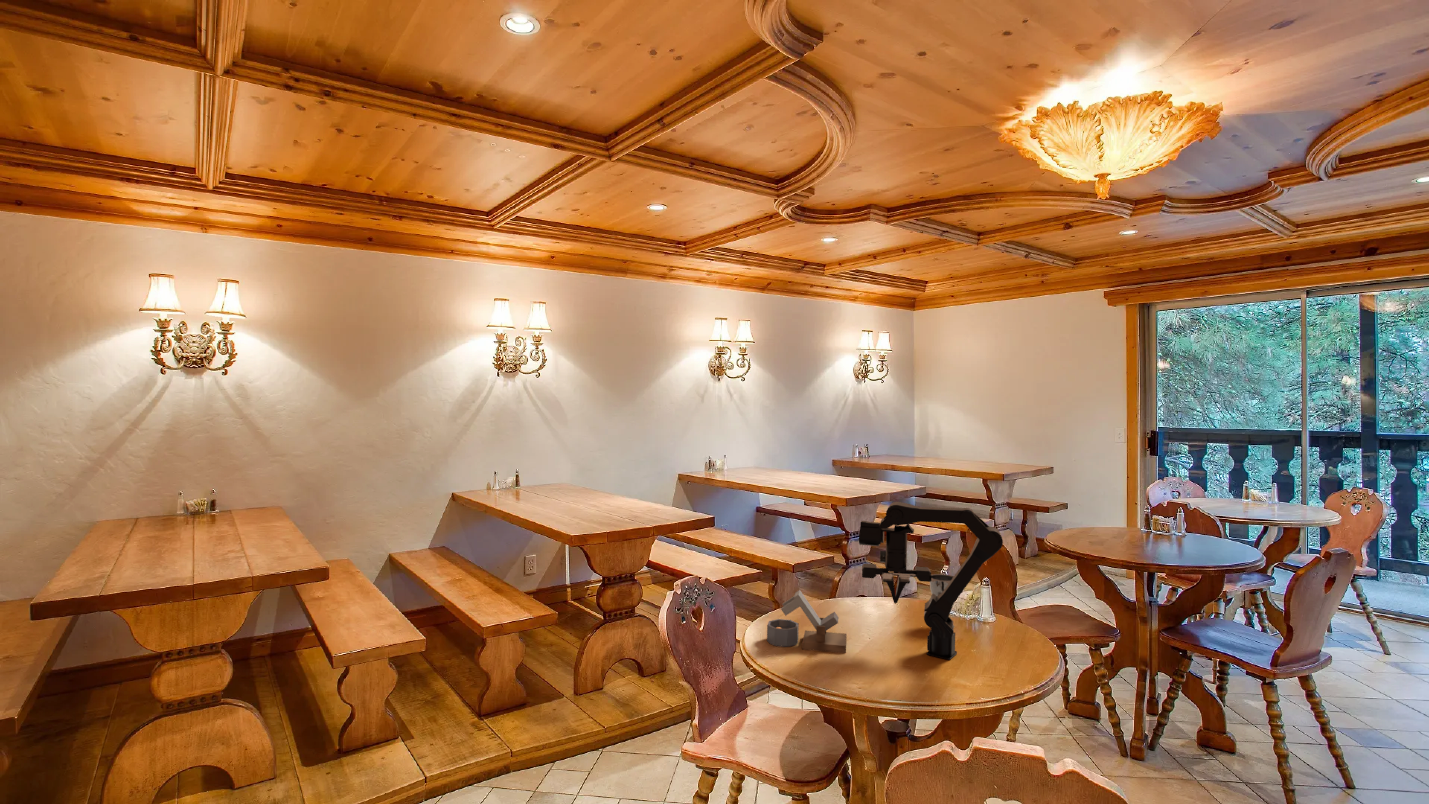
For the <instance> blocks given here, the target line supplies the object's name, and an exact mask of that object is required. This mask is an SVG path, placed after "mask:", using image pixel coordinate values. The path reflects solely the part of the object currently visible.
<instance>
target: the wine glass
mask: <svg viewBox="0 0 1429 804" xmlns="http://www.w3.org/2000/svg"><path fill="white" fill-rule="evenodd" d="M954 576H955V575H950V574H944V573H934V574H933V573H932V574H931V582H929V589H930V593H931V595H932V594H933V593H934V594H935V595H936V596H938V595H939V594H941V593H942V592H943V591H944V589H945V588H946V587H947V585H948V584H949V582H950V581H951V580H952V578H953V577H954ZM953 627H954V628H955V625H954V624H953Z"/></svg>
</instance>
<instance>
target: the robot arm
mask: <svg viewBox="0 0 1429 804" xmlns="http://www.w3.org/2000/svg"><path fill="white" fill-rule="evenodd" d="M921 522H923V523H940V524H941V523H942V524H946V523H947V524H964V525H965V526H966V527H967V528H968V529H969V530H970V531H971V532H972V534H973V535H974V536H975V537H976V540H975V542H974V545H973V546H972V550H971V551H970V553H969V555H968V556H967V558H966V559H965V561H964V562H962V564H961V566H960V568H959V569H958V570H957V571H956V573H955V574H954V575H953V576H954V577H953V578H952V580H951V581H950V582H949V584H948V585H947V587H946V588H945V589H944V591H943V592H942V593H941V594H939V595H938V596H936V595H935V594H934V593H933V594H932V593H931V596H930V598H929V600H927V601H926V602H925V603H924V609H923V610H924V613H923V615H924V616H923V619H924V620H923V621H924V623H925V625H926V626H927V627H928V628H930V630H929V631H928V632H929V633H928V635H927V639H926V641H927V642H926V643H927V644H926V646H927V647H926V650H927V652H926V655H927V656H932V657H936V658H940V659H944V660H949V661H951V660H952V659H953V657H955V656H956V655H957V654H958V651H956V632H954V631H955V629H954V628H955V626H954V627H953V625H954V620H953V619H952V618H951V617H950V614H951V613H952V612H951V611H952V609H953V606H954V604H955V602H956V601H957V599H959V597H960V595H961V594H962V593H963V592H964V590H965V589H966V587H967V586H968V585H969V583H970V582H971V581H972V579H973V578H974V576H975V575H976V573H977V572H978V571H979V570H980V568H981V566H982V565H983V564H984V563H985V562H987V561H988V560H990V559H992V558H993V556H994V555H996V554H997V553H998V552H999V551H1000V550H1001V549H1002V547H1003V545H1004V540H1003V537H1002V534H1001V532H1000V531H999V529H997V528H996V527H993V526H989V525H988V524H987V523H986V522H985V521H984V520H983V519H982V518H981V517H979V516H978V515H977V514H976V513H975V511H973V509H971V508H970V507H962V508H959V507H958V508H957V507H930V506H929V507H928V506H917V505H914V504H910V503H906V502H902V501H901V502H900V501H894V502H892V503H890V504H889V505H888V507H887V509H886V512H885V516H884V517H883V518H881V520H880V522H876V521H874V522H873V521H867V520H861V521H860V523H859V525H860V527H859V533H858V544H859V546H871V547H880V545H881V544H884V542H885V550H880V551H879V562H880V563H883V564H884V567H877V564H876V563H863V564H862V565H861V578H865V579H875V578H876V577H877V576H881V577H882V582H883V583H886V584H887V586H888V589H889V591H890V593H891V598H892V600H893V601H892V602H893V604H897V603H898V602H899V599H900V597H901V594H902V592H903V590H904V588H905V587H906V585H907V584H910V583H911V581H910V578H916V579H917V580H918V582H926V583H930V582H931V575H932V571H931V569H930V568H929V567H927V566H915V567H914V569H907V567H908V565H907V563H908V562H907V561H908V559H907V558H908V534H915V533H914V532H915V528H914V527H912V526H911V525H910V524H915V523H921ZM892 526H894V527H892ZM885 536H886V537H885ZM894 576H895V577H897V582H896V583H897V584H896V589H895V583H894Z"/></svg>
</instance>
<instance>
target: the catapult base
mask: <svg viewBox="0 0 1429 804" xmlns="http://www.w3.org/2000/svg"><path fill="white" fill-rule="evenodd" d="M819 618H820V619H821V620H822V619H824V618H825V617H819ZM815 630H816V629H815ZM815 630H804V633H803V634H804V635H803V639H802V645H801V646H802V647H801V648H802V650H804V651H816V652H817V651H818V652H827V653H828V652H831V653H839V654H840V653H842V654H846V653H847V640H848V639H847V633H843V632H842V633H841V632H833V631H832V632H831V631H830V632H829V631H825V626H819V625H817V630H816V631H815Z"/></svg>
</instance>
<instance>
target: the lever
mask: <svg viewBox="0 0 1429 804" xmlns="http://www.w3.org/2000/svg"><path fill="white" fill-rule="evenodd" d="M798 608H800V609H801V610H802V612H803V614H805V616H806V617H807V619H808V620H809V621H810V623H811V625H813V627H814V629H815V630H817V625H819V626H825V631H826V632H828V630H830V629H831V628H833V627H835V626H836V625H837V624H839V619H840V618H839V616H838V614H837V613H836V611H833V612H832V613H830V614H828V615H826V617H823V618H824V619H822V620H821V619H820V618H821V617H819V615H818V614H817V612H816V610H815V609H814V608H813V606H812V605H811V604H810V602H809V601H808V600H807V598H806V596H805V595H804V594H803V592H802V591H801V589H799V590H797V591H795V592H794V595H793V596H792V597H790V598H789V599H787V600H785V601H784V602H782V607H780V610H781V612H782V613H783V614H784V615H785V617H787V616H788V615H789V614H791V613H792V612H794V611H795V610H797V609H798Z"/></svg>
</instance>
